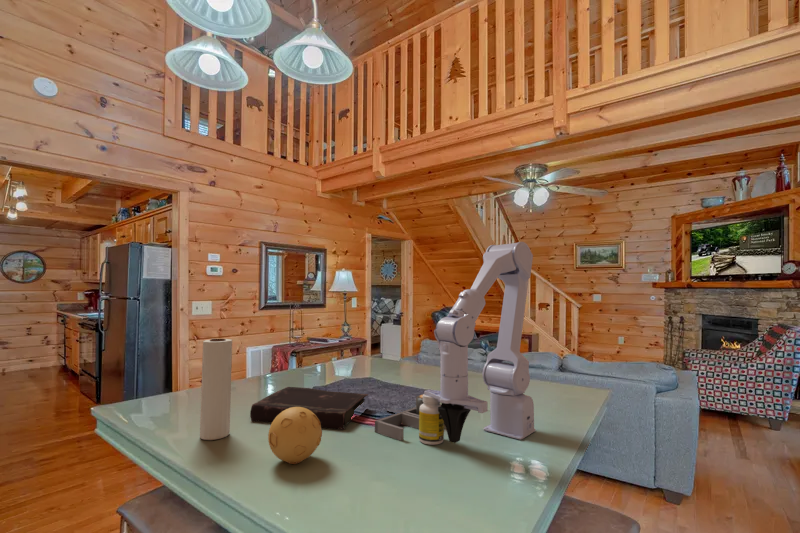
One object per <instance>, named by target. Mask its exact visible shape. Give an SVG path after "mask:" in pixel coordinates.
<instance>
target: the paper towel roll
mask: <svg viewBox="0 0 800 533" xmlns="http://www.w3.org/2000/svg"><path fill="white" fill-rule="evenodd" d="M232 359H233V339H229V338H210V339H206V340H203V341H202V361H201V362H202V363H201V364H202V365H201V387H200V388H201V392H200V417H199V418H200V420H199V422H200V424H199V438H200V439H202V440H204V441H213V440H214V441H215V440H220V439H223V438H226V437H227V436H229V435H230V431H231V430H230V429H231V398H232V368H233V367H232V362H233V360H232Z"/></svg>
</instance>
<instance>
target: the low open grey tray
mask: <svg viewBox="0 0 800 533" xmlns="http://www.w3.org/2000/svg"><path fill="white" fill-rule="evenodd" d="M423 403H424V402H423V394H420V395H417V396H416V397H415V407H412V408H409V409H406V410H402V411H403V412H400V413H397V414H394V413H393V414H390V415H388V416H386V417H383V418H379V419H376V420H374V433H377V434H379V435H382V436H386V437H388V438H391V439H394V440H398V441H400V442H401V441H404V438H405V437H404V436H405V435H404V431H405V429H404V427H402V426H401V425H405V426H407V427H410V428H414V429H417V430H419V408H420V406H421V405H422V404H423Z"/></svg>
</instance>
